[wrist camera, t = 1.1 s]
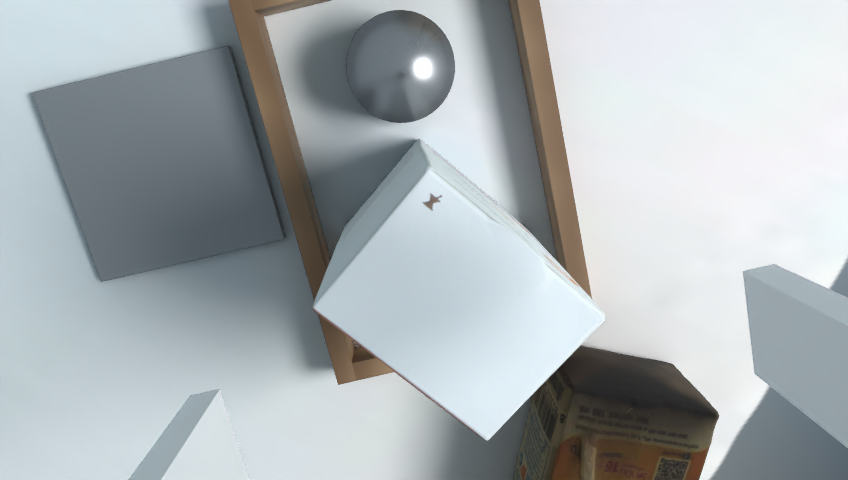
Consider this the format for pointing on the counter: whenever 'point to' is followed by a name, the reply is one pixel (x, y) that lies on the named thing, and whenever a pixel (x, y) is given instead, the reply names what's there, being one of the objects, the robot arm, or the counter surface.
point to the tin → (400, 66)
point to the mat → (161, 163)
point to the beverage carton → (615, 422)
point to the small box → (453, 293)
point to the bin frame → (348, 362)
